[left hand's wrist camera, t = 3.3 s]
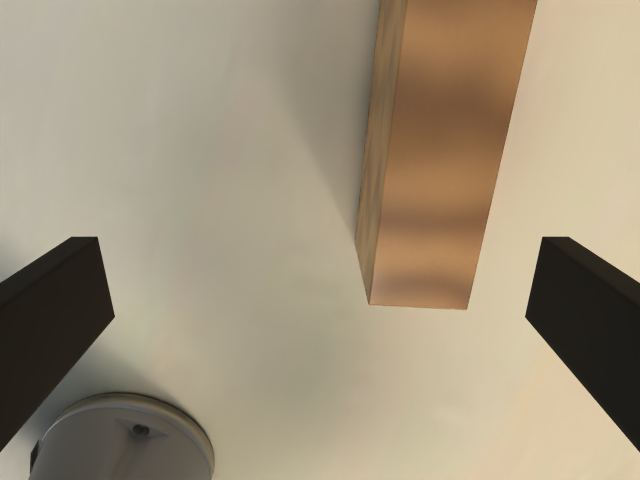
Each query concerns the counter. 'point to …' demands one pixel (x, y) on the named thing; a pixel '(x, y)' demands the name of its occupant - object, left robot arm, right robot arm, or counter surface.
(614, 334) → the left robot arm
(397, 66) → the post
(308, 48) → the counter surface
